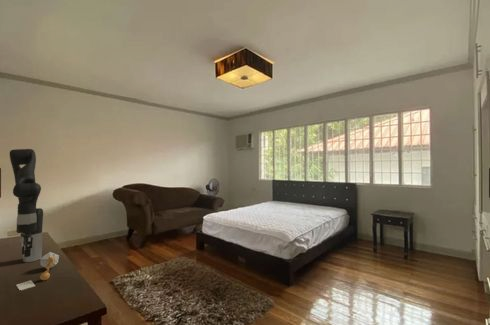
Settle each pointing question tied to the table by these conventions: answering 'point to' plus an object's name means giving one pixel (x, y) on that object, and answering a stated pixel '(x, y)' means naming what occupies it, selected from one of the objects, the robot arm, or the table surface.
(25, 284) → the grey mat
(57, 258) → the die
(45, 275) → the figurine
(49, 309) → the table surface
